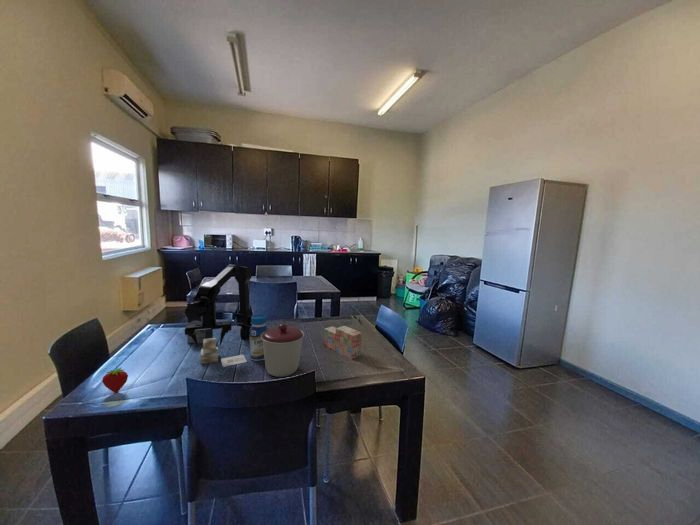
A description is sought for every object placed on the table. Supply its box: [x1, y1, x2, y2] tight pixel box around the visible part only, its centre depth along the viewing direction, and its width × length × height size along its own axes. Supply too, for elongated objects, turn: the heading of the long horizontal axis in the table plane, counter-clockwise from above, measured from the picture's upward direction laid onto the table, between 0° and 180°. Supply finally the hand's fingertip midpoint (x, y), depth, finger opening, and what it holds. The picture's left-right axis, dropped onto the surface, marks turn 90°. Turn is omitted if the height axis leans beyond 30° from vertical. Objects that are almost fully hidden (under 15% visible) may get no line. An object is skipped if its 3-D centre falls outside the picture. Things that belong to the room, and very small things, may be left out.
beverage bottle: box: [248, 313, 269, 362], centre depth 135 cm, size 8×8×20 cm
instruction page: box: [220, 354, 248, 368], centre depth 132 cm, size 10×8×1 cm
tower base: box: [200, 346, 219, 365], centre depth 132 cm, size 7×7×4 cm
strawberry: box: [101, 364, 129, 394], centre depth 104 cm, size 6×8×10 cm
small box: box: [186, 320, 214, 346], centre depth 149 cm, size 11×6×10 cm, turn 84°
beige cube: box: [202, 337, 217, 354], centre depth 131 cm, size 5×5×5 cm
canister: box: [261, 323, 305, 378], centre depth 124 cm, size 18×18×21 cm
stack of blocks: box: [323, 325, 362, 360], centre depth 147 cm, size 21×6×12 cm, turn 45°
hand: (209, 345), depth 131 cm, fingers open, 9 cm apart
